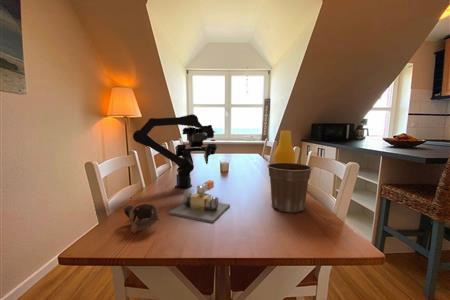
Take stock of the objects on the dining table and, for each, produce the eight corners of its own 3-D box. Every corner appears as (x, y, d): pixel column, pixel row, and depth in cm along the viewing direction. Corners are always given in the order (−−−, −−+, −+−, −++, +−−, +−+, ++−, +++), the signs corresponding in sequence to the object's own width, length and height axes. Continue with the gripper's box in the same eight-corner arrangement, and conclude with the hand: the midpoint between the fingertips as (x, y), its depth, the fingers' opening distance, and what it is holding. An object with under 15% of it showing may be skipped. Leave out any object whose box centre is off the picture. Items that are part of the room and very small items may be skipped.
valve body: (183, 207, 77) (182, 192, 76) (190, 203, 82) (190, 189, 81) (212, 213, 72) (212, 197, 72) (218, 208, 77) (218, 193, 76)
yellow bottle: (271, 194, 95) (273, 130, 91) (274, 189, 103) (276, 130, 100) (292, 197, 91) (295, 131, 88) (294, 191, 100) (297, 130, 96)
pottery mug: (165, 220, 69) (164, 204, 64) (149, 246, 62) (147, 230, 57) (133, 209, 71) (130, 192, 66) (113, 232, 64) (108, 215, 59)
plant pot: (263, 199, 89) (264, 161, 87) (301, 199, 89) (303, 162, 87) (270, 215, 73) (271, 170, 71) (317, 216, 73) (319, 170, 71)
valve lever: (202, 195, 74) (202, 187, 74) (195, 194, 76) (195, 186, 75) (214, 187, 84) (214, 180, 84) (208, 186, 85) (208, 179, 85)
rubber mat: (169, 214, 73) (169, 211, 73) (191, 200, 87) (191, 198, 87) (212, 222, 67) (212, 220, 67) (229, 206, 81) (229, 204, 81)
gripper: (176, 126, 94) (181, 154, 85) (215, 126, 101) (224, 152, 92) (174, 142, 102) (178, 169, 93) (210, 142, 109) (217, 166, 100)
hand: (200, 164), depth 94 cm, fingers open, 6 cm apart
